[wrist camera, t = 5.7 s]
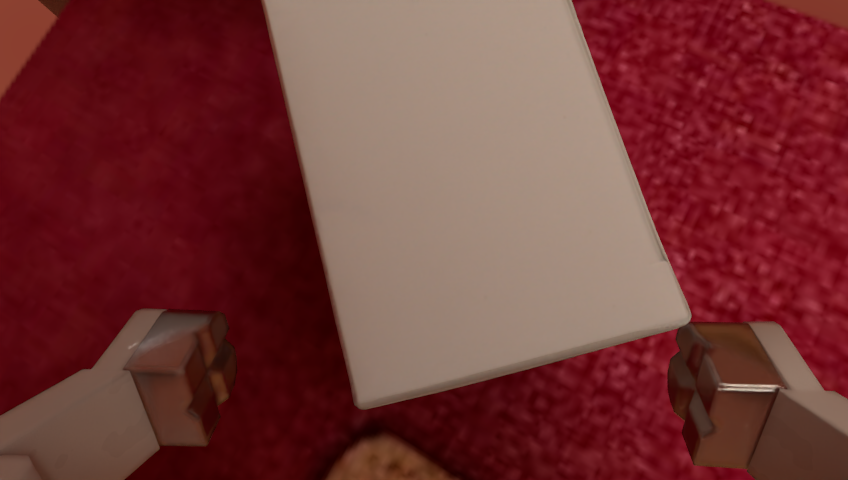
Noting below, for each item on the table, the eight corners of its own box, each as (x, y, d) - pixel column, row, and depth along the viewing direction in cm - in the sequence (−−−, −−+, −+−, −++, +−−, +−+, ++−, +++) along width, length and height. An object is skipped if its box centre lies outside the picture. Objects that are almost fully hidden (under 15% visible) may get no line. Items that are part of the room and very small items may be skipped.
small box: (355, 170, 21) (249, -23, 11) (508, 129, 21) (545, -104, 11) (410, 397, 19) (345, 418, 9) (578, 352, 19) (703, 323, 9)
